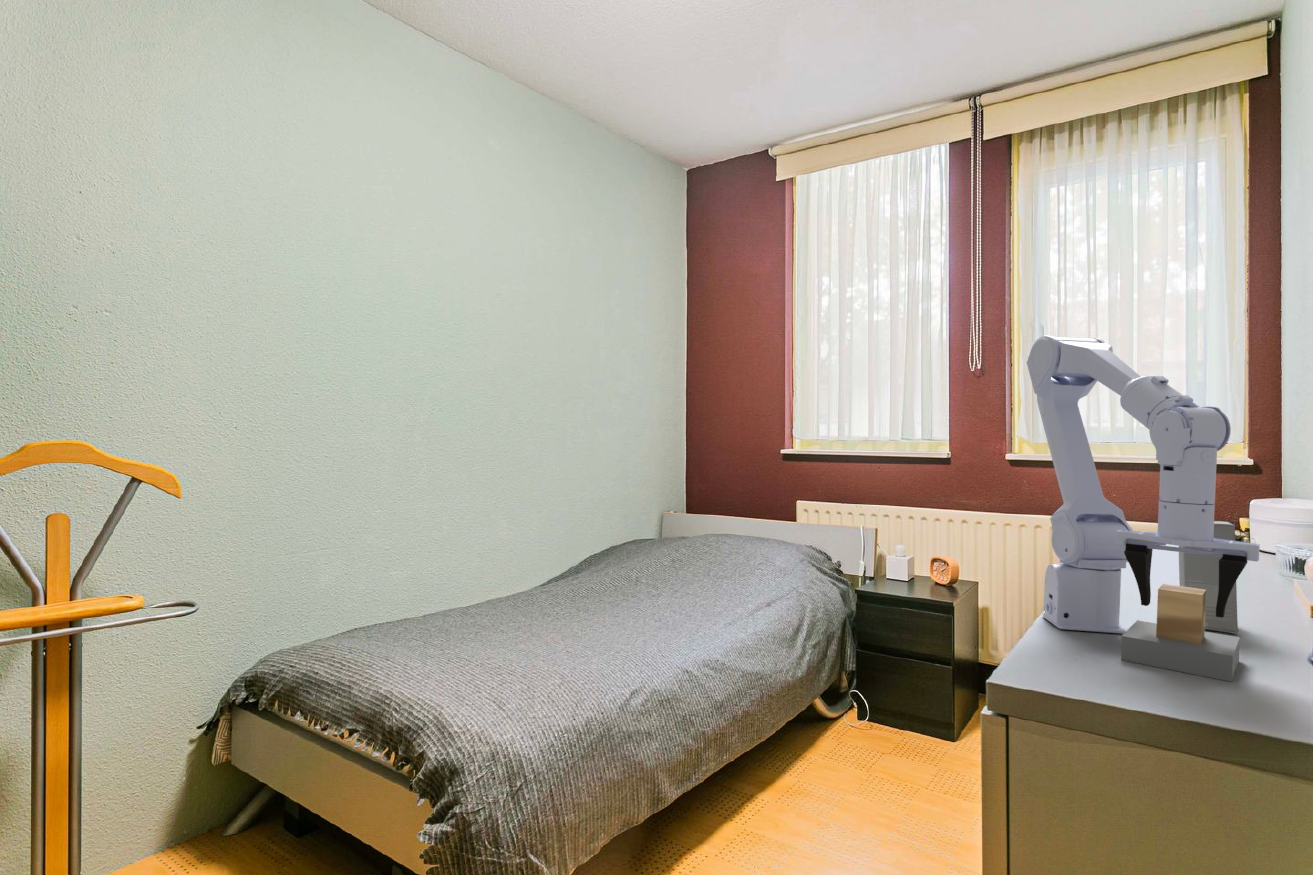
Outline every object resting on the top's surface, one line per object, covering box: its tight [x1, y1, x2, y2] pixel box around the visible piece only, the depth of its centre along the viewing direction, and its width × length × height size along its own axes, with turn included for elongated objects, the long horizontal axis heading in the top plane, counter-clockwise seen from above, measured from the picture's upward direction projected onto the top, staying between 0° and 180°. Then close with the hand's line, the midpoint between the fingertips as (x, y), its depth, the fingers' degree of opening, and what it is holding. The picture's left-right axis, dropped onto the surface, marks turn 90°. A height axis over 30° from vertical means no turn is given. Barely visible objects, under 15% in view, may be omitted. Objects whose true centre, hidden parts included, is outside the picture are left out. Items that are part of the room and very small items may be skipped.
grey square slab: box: [1120, 619, 1241, 682], centre depth 93 cm, size 11×11×3 cm
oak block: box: [1156, 583, 1206, 644], centre depth 92 cm, size 4×4×6 cm
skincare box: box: [1178, 520, 1239, 635], centre depth 111 cm, size 8×7×16 cm
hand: (1181, 609), depth 93 cm, fingers open, 7 cm apart
